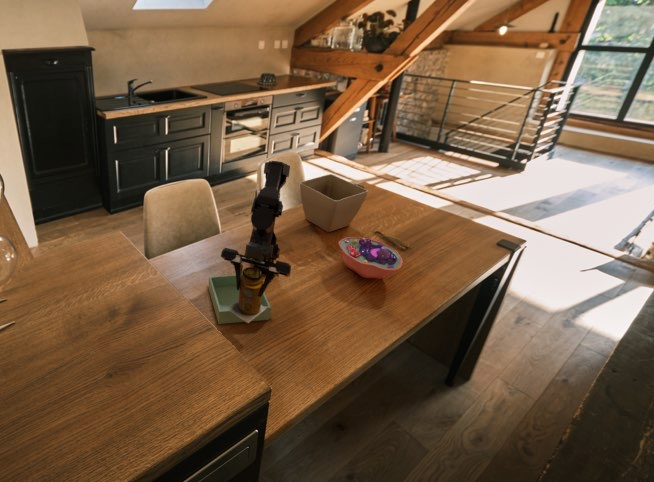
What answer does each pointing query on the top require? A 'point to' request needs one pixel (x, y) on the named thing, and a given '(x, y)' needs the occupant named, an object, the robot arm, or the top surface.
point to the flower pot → (331, 201)
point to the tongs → (394, 240)
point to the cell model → (369, 257)
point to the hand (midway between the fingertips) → (248, 293)
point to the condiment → (249, 295)
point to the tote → (230, 299)
